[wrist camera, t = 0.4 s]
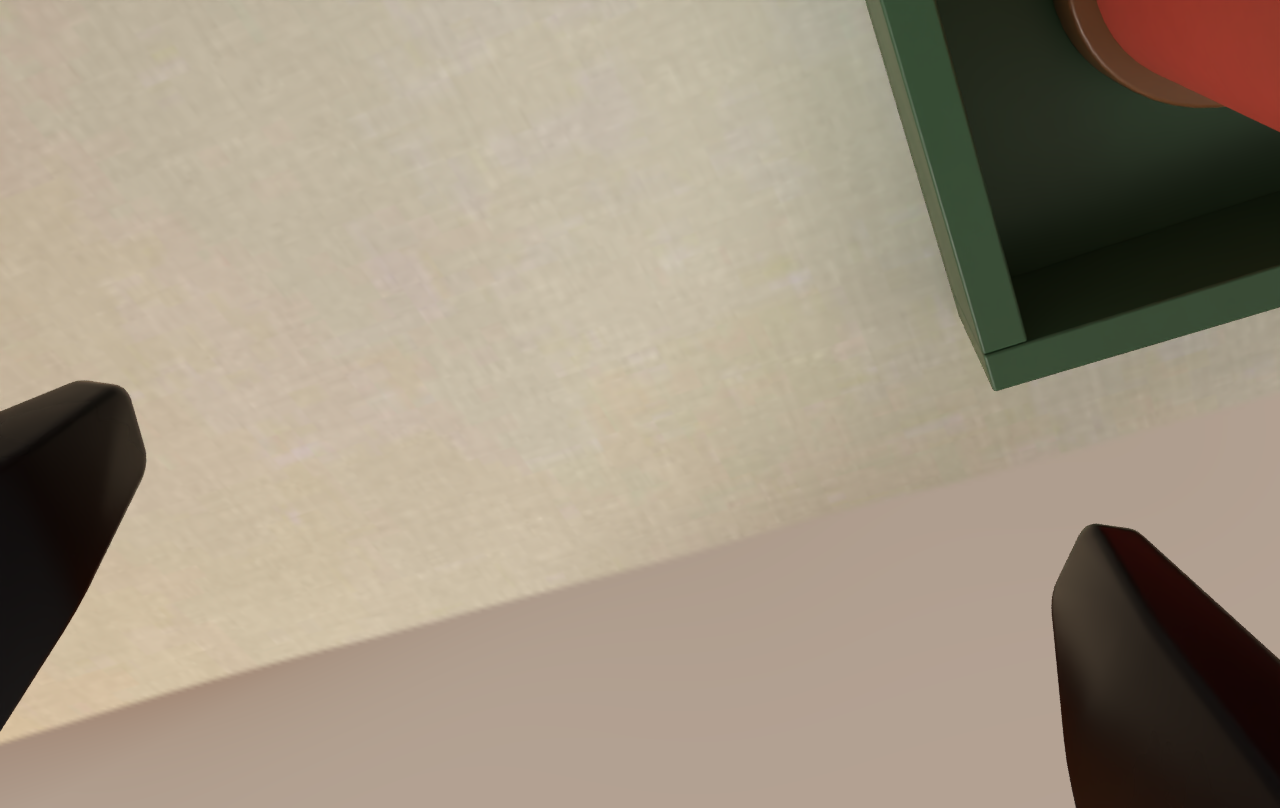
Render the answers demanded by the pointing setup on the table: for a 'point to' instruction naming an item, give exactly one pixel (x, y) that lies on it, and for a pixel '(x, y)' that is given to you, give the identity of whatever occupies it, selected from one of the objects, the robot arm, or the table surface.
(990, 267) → the bin
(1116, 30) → the skittle
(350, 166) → the table surface
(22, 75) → the table surface
